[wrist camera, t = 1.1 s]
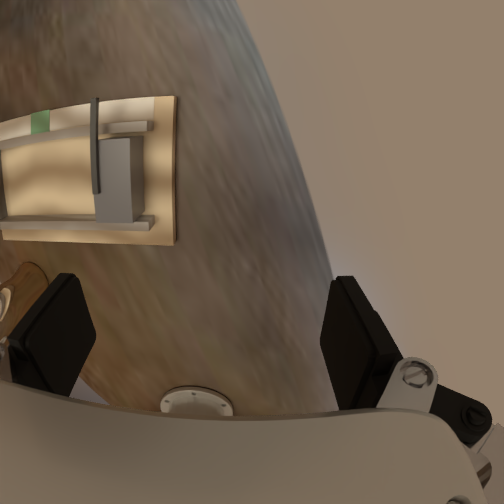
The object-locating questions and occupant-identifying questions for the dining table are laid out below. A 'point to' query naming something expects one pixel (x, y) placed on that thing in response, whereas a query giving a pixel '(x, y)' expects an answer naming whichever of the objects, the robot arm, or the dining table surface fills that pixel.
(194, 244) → the dining table surface
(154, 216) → the gauge board
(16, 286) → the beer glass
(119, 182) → the slider
